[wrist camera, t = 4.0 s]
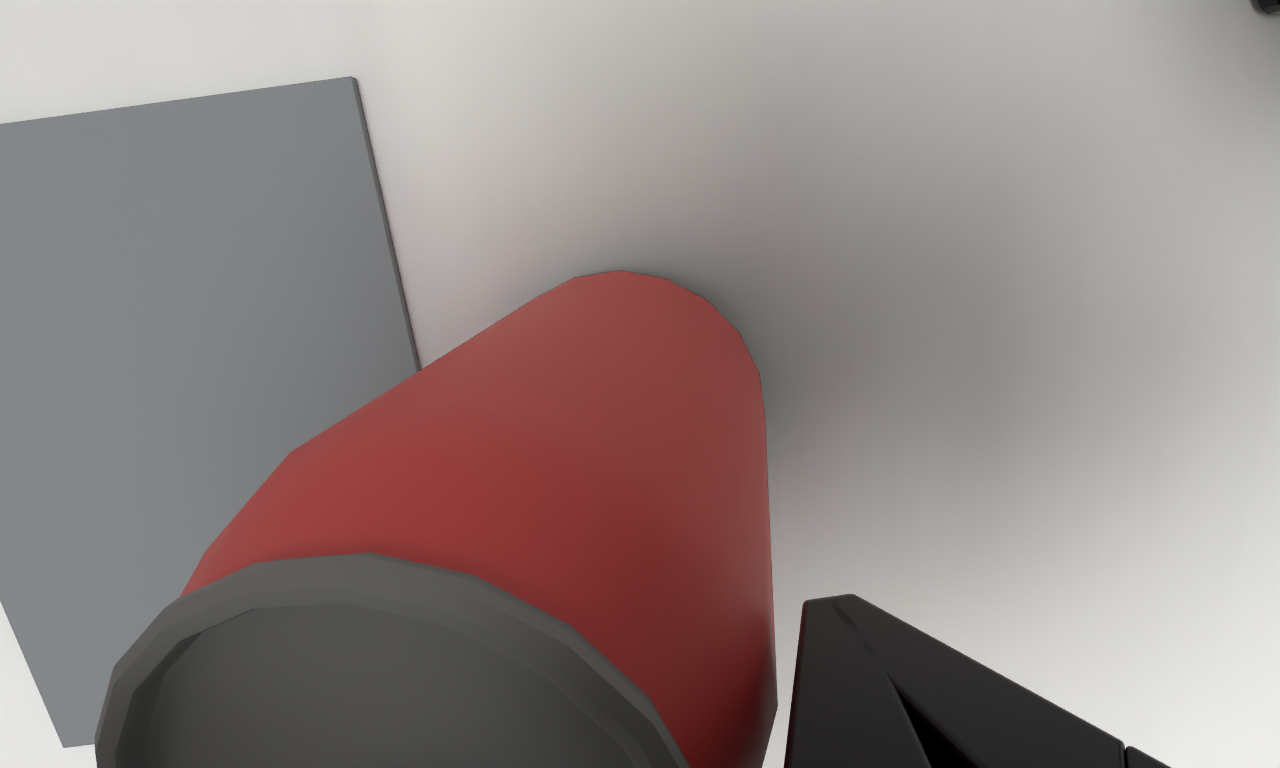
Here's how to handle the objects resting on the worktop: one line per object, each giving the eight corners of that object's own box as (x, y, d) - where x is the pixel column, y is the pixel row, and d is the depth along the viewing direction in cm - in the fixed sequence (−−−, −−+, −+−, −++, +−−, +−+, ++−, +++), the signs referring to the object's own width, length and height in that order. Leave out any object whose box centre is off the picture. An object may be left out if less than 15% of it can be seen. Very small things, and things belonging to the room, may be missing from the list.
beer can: (657, 570, 18) (506, 1215, 7) (450, 422, 18) (-54, 857, 7) (823, 380, 16) (980, 874, 5) (592, 207, 16) (198, 323, 5)
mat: (355, 78, 16) (350, 76, 15) (490, 686, 20) (488, 694, 20) (-178, 151, 16) (-193, 150, 15) (71, 739, 20) (63, 747, 20)
